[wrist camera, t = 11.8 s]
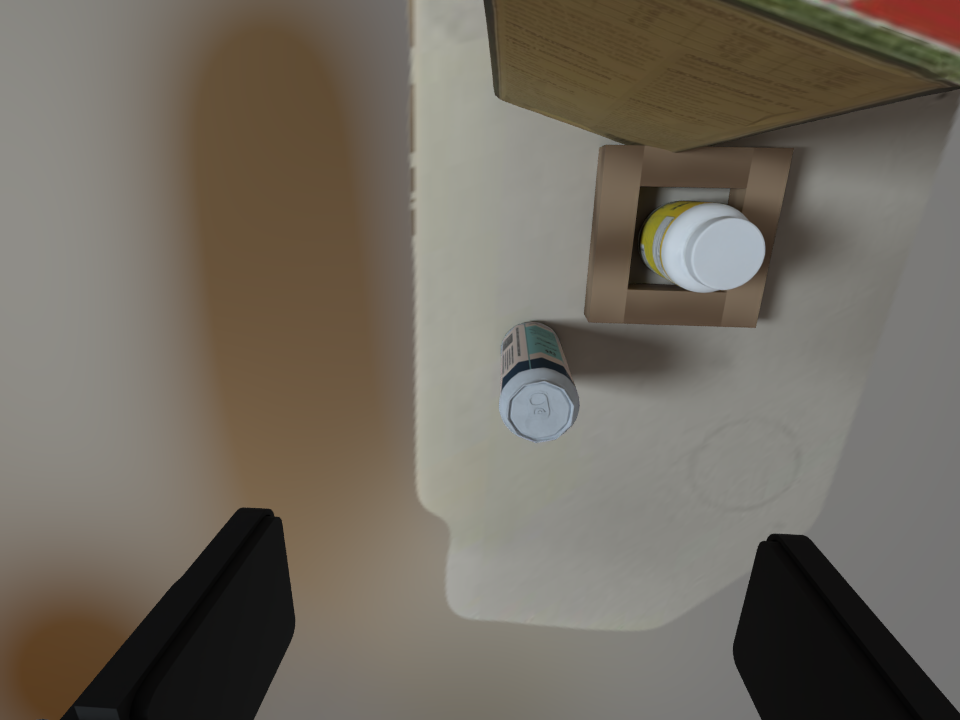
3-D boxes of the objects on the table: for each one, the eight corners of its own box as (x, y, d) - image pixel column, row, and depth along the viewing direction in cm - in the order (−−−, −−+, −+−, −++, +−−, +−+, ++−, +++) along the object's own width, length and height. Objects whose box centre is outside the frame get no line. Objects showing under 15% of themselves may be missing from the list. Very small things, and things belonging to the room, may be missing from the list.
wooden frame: (599, 147, 35) (606, 144, 32) (774, 150, 34) (794, 148, 32) (583, 314, 39) (588, 322, 36) (740, 318, 38) (755, 327, 36)
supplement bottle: (723, 211, 36) (798, 221, 27) (692, 283, 38) (752, 315, 28) (652, 190, 36) (703, 192, 26) (624, 263, 37) (663, 289, 28)
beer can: (507, 381, 41) (508, 455, 30) (495, 326, 39) (490, 383, 28) (565, 369, 40) (588, 441, 29) (554, 314, 39) (574, 366, 28)
